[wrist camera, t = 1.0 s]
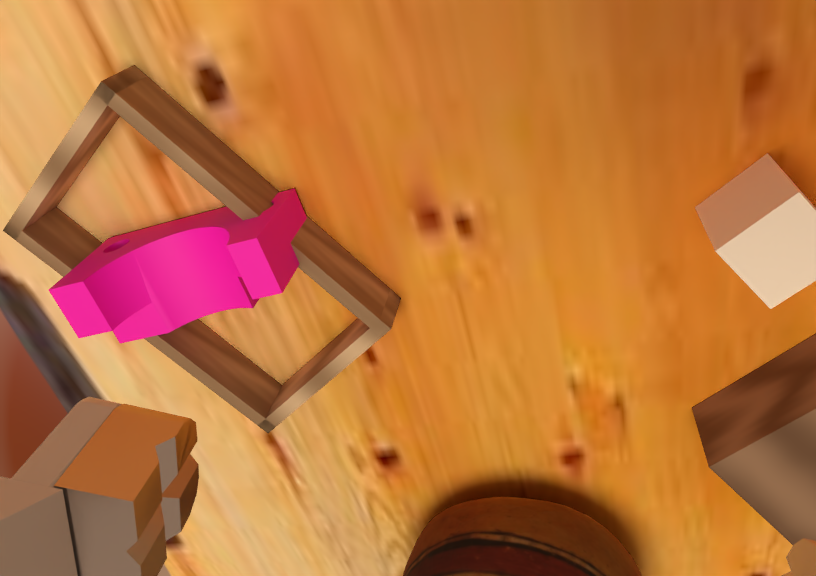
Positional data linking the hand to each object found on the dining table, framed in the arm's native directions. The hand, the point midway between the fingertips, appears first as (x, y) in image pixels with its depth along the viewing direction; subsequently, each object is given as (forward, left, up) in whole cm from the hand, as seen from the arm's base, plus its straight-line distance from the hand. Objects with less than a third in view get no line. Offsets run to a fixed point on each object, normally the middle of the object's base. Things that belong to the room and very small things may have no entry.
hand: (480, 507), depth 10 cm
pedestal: (+3, +34, -36) cm, 50 cm away
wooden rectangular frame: (+25, -4, -36) cm, 44 cm away
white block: (-3, +18, -36) cm, 40 cm away
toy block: (+25, -4, -36) cm, 44 cm away
